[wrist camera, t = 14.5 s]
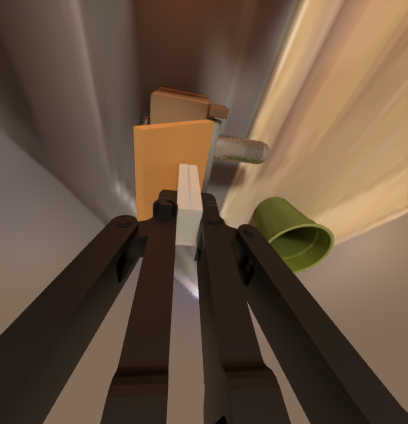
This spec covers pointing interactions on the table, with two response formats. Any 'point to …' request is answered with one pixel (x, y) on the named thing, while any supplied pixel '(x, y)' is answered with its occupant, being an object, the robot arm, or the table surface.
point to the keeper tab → (171, 157)
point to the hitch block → (182, 107)
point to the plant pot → (293, 234)
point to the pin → (232, 147)
